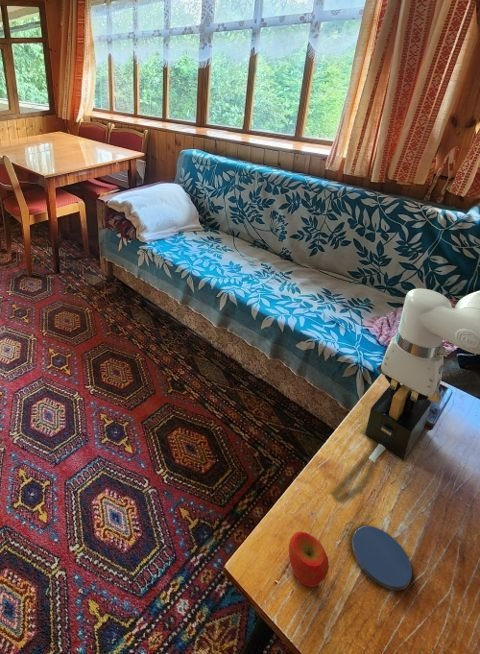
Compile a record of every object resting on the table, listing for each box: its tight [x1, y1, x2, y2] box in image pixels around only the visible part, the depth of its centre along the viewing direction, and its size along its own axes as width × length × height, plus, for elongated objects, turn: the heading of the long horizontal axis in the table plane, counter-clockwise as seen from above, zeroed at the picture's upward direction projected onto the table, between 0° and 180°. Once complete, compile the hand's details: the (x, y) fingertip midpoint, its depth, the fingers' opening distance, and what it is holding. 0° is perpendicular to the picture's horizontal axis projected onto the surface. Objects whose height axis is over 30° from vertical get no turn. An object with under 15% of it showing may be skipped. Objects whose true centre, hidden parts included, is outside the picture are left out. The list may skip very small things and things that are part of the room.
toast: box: [389, 384, 412, 422], centre depth 87 cm, size 10×2×10 cm, turn 125°
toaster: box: [364, 385, 433, 461], centre depth 88 cm, size 13×8×9 cm, turn 125°
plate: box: [351, 525, 413, 592], centre depth 68 cm, size 9×9×1 cm
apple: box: [288, 530, 330, 588], centre depth 66 cm, size 6×6×8 cm
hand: (401, 404), depth 87 cm, fingers closed
